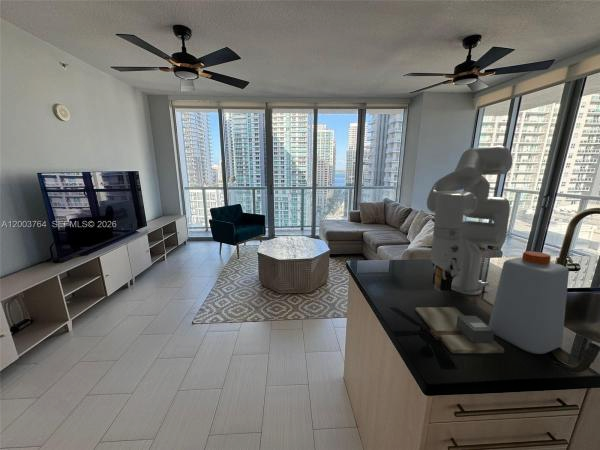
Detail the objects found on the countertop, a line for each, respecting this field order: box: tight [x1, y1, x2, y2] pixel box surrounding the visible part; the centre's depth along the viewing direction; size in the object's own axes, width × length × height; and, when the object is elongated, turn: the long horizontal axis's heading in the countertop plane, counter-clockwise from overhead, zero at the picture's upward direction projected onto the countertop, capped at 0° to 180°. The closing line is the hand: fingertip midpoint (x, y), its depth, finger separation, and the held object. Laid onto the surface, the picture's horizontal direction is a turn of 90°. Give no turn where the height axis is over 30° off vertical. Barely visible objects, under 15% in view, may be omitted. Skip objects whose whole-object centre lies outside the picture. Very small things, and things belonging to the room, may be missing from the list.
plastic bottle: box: [488, 250, 570, 355], centre depth 76 cm, size 15×15×28 cm
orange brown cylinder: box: [433, 267, 450, 293], centre depth 80 cm, size 4×4×7 cm
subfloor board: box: [415, 306, 505, 354], centre depth 84 cm, size 18×24×1 cm
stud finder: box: [456, 315, 495, 342], centre depth 78 cm, size 6×8×4 cm
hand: (441, 286), depth 81 cm, fingers closed on orange brown cylinder, 4 cm apart
